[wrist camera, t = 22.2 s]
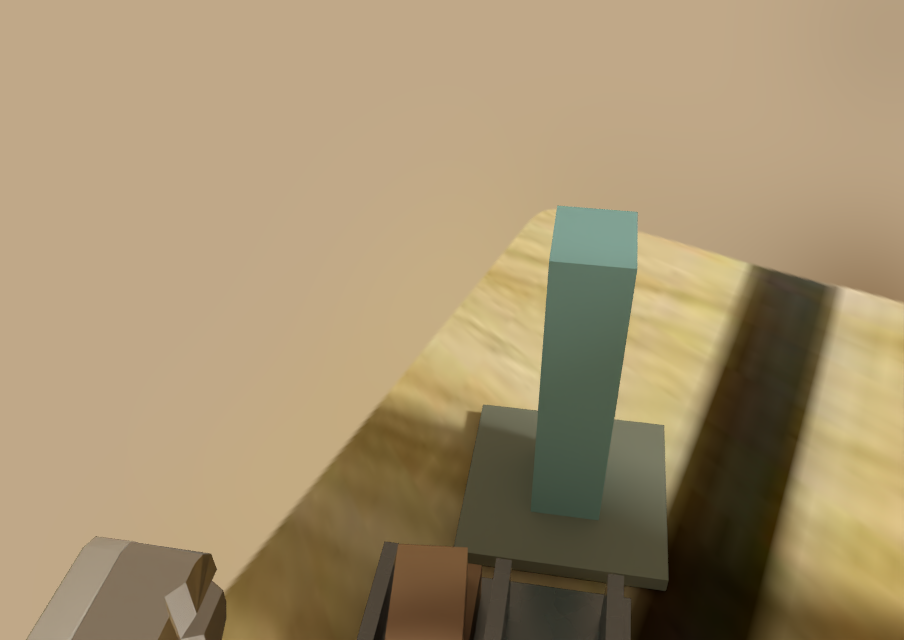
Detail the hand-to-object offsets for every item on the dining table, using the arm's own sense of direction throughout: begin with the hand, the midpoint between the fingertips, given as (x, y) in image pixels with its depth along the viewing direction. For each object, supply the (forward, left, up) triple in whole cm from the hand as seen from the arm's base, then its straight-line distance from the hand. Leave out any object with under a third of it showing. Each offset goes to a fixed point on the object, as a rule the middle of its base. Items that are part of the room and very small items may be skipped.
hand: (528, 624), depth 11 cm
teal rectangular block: (-20, -22, -31) cm, 43 cm away
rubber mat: (-19, -22, -32) cm, 43 cm away
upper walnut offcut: (-7, -16, -28) cm, 33 cm away
